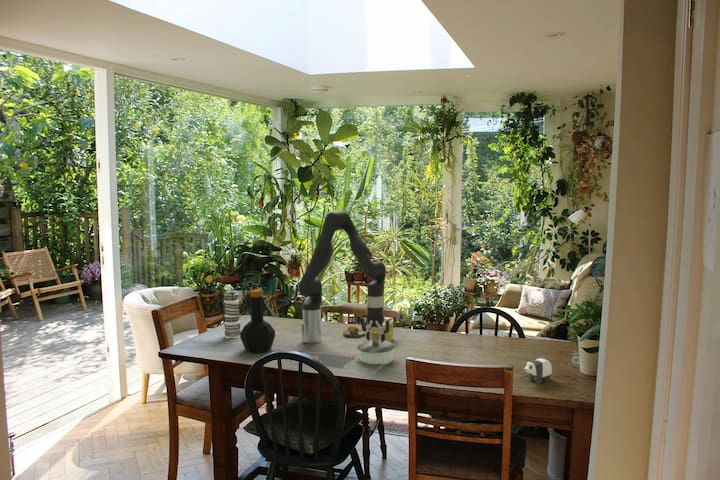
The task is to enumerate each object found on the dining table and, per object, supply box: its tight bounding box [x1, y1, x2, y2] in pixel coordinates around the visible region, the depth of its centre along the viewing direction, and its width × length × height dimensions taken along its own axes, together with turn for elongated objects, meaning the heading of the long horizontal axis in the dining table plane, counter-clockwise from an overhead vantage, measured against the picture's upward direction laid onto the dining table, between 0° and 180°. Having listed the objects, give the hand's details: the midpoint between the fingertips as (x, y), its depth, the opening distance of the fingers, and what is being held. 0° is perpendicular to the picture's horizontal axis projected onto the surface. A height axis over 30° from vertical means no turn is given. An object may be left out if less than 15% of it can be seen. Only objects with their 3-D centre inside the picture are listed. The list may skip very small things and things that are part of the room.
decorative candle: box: [222, 289, 242, 339], centre depth 306 cm, size 9×9×25 cm
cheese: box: [370, 319, 394, 343], centre depth 294 cm, size 10×11×10 cm
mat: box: [316, 353, 356, 369], centre depth 262 cm, size 16×16×1 cm
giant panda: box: [523, 357, 553, 385], centre depth 233 cm, size 15×6×10 cm, turn 125°
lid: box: [356, 332, 395, 353], centre depth 263 cm, size 17×17×7 cm
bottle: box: [239, 289, 276, 354], centre depth 282 cm, size 16×16×30 cm
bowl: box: [359, 349, 393, 365], centre depth 264 cm, size 15×15×6 cm
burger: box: [342, 323, 366, 339], centre depth 307 cm, size 12×12×8 cm
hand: (375, 340), depth 263 cm, fingers open, 6 cm apart
